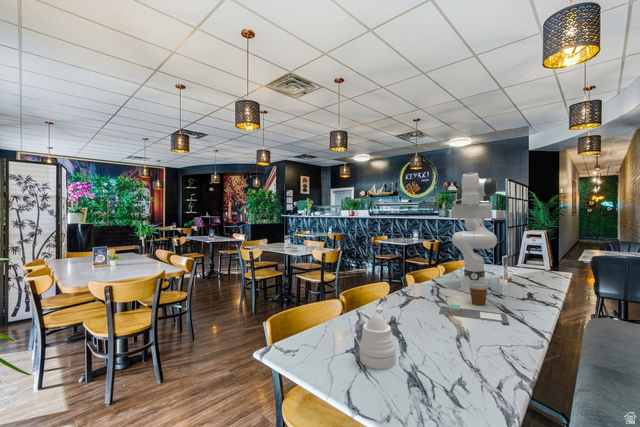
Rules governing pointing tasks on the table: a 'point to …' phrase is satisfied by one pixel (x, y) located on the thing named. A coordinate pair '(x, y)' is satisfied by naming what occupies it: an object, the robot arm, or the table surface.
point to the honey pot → (377, 343)
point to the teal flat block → (454, 309)
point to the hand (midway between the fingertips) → (470, 226)
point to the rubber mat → (477, 315)
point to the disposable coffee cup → (478, 293)
